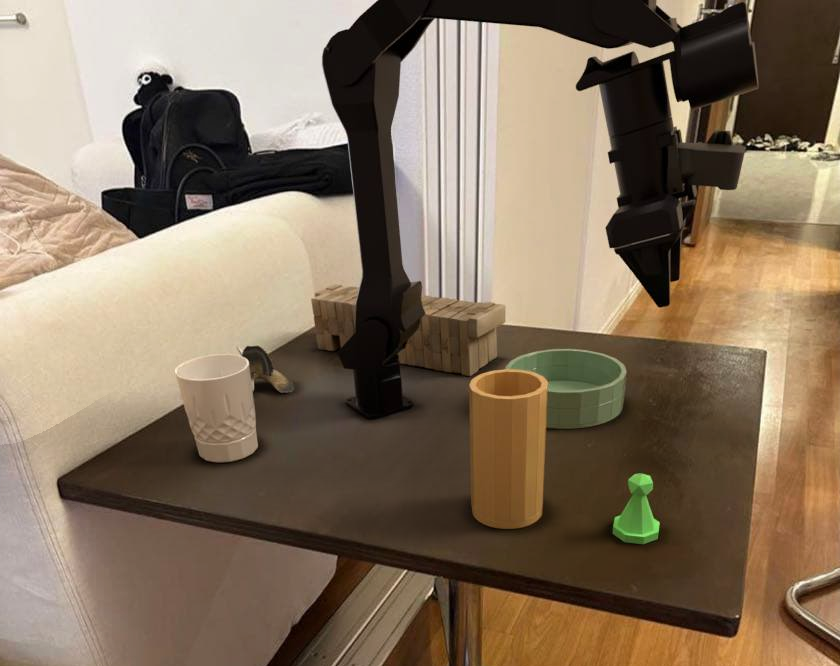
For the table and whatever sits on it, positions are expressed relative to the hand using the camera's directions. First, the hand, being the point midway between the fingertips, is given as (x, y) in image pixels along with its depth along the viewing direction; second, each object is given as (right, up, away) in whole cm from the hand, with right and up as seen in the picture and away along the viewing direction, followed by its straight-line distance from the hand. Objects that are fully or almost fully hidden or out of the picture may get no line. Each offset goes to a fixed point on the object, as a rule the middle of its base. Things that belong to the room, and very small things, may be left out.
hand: (669, 293), depth 80 cm
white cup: (-47, -15, +11) cm, 51 cm away
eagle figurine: (-47, -5, +26) cm, 54 cm away
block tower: (-28, +2, +35) cm, 45 cm away
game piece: (-6, -24, -8) cm, 26 cm away
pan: (-8, -8, +17) cm, 20 cm away
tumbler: (-17, -22, -4) cm, 28 cm away
